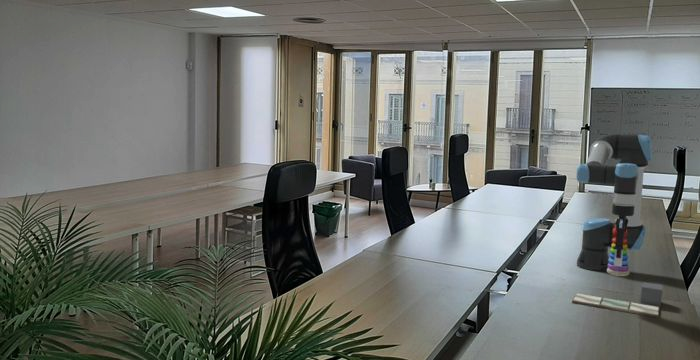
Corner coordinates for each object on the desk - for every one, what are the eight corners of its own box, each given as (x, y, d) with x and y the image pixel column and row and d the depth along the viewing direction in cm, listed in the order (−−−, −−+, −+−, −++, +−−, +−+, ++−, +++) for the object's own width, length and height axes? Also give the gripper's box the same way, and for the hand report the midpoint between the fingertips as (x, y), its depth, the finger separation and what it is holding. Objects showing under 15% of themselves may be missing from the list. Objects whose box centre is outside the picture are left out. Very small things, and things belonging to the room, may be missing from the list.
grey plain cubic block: (641, 299, 233) (642, 282, 232) (661, 302, 230) (662, 285, 229) (640, 304, 227) (641, 287, 226) (660, 307, 224) (662, 290, 223)
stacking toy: (622, 270, 227) (626, 223, 224) (633, 276, 219) (637, 228, 216) (602, 270, 226) (606, 223, 224) (612, 276, 219) (616, 227, 216)
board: (576, 294, 236) (576, 292, 236) (659, 308, 222) (659, 306, 222) (572, 302, 227) (572, 300, 227) (658, 317, 213) (658, 315, 212)
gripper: (615, 199, 230) (610, 256, 233) (610, 207, 212) (605, 268, 215) (636, 201, 226) (631, 259, 229) (632, 209, 209) (627, 271, 212)
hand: (618, 263), depth 222 cm, fingers closed on stacking toy, 7 cm apart
